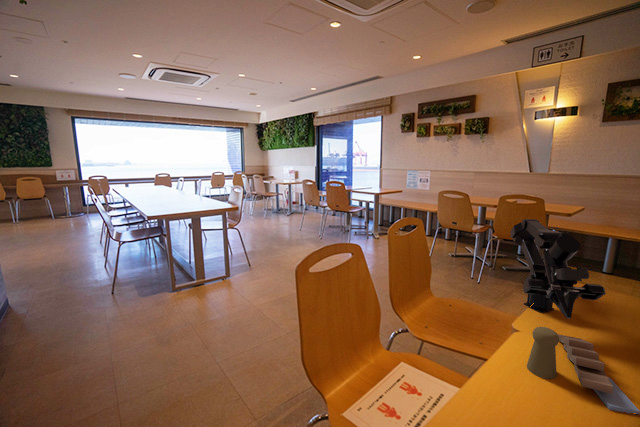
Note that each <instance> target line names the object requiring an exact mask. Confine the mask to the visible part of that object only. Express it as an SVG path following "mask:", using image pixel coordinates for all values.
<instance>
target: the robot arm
mask: <svg viewBox="0 0 640 427" xmlns="http://www.w3.org/2000/svg"><path fill="white" fill-rule="evenodd" d="M510 238H511V239H512V240H513V243H514V244H516V245H518V246H519V247H520V248H521V250H522V253H523V255H524V258H525V260H526V262H527V265H528V267H529V270H530V271H529V275H528V276H527V277H526V278H525V279H524V281H523V282H524V284H523V285H522V289H523V293H524V294H527V299H526V302H524V303H523V305H524V306H525V307H528V308H530V306H531V305H532V304H533V303H534V304H533V305H532V306H531V308H530V309H532V310H534V311H537V312H539V313H547V312H549V311H553V310H555V308H554V307H553V305H555V306H556V307H557V308H558V309H559V311H560V312H561V313H562V314H563V316H564V317H565V318H566V319H569V320H570V319H572V317H573V316H572V315H573V310H574V305H575V301H576V300H577V299H578V298H579V297H580V298H581V299H582V300H586V301H589V300H590V301H597V300H599V299H600V298H602V297H603V296H605V295H606V294H607V292H606V289H605V288H604V286H603V285H601V284H595V283H594V284H593V283H585V284H584V285H582V286H581V287H579V286H576V285H577V284H578V282H583V280H588V279H589V278H590V272H589V270H588V267H583V266H580V267H576V268H575V269H574V268H571V267H569V265H568V261H569V260H571V259H572V258H573V257H574V256H575V255H576V254H577V253H578V251H580V249H581V243H580V242H579V240H578V239H577V238H575V237H573V236H570V233H568V232H562V231H561V232H560V231H557V230H551V229H549V228H547V227H546V226H545V225H544V224H542V223H541V222H540V221H539V220H538V219H535V218H533V219H531V218H530V219H529V218H524V219H522V220H521V222H519V223H516V224H514V225H513V226H512V228H511V229H510ZM539 249H540V250H545V251H543V253H542V254H541V252H540V250H539ZM574 285H575V286H574Z"/></svg>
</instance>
